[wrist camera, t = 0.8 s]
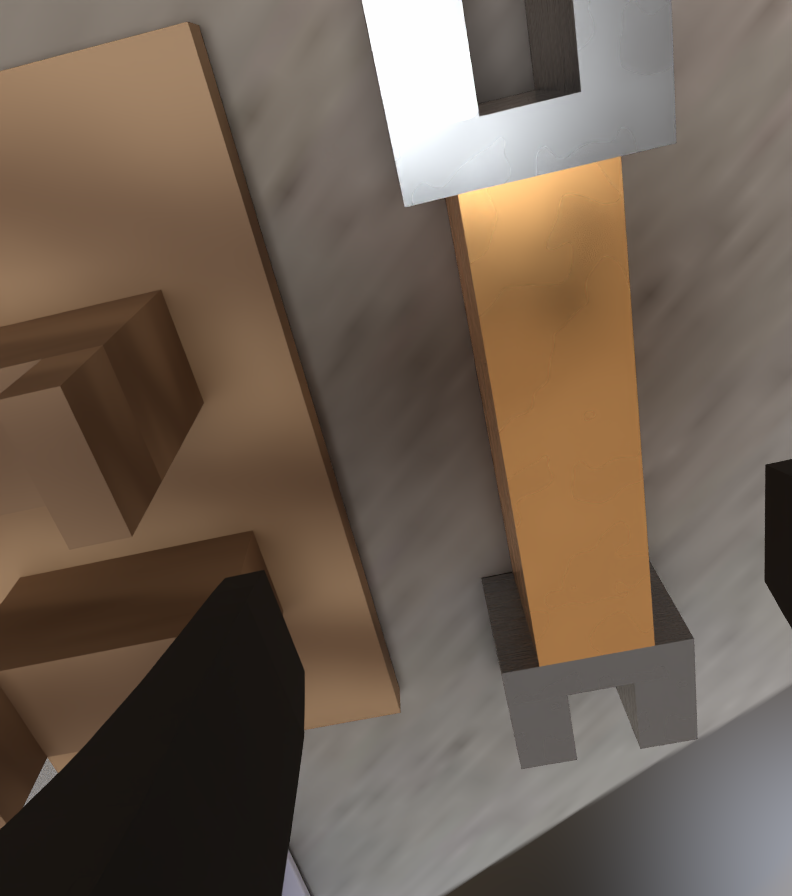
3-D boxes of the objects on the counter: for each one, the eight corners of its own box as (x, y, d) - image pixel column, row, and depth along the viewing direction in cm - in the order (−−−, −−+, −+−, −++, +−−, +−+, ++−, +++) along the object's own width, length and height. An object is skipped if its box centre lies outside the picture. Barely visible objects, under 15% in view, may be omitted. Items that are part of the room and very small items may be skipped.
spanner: (648, 639, 23) (697, 738, 20) (499, 666, 24) (521, 769, 20) (595, -68, 15) (666, -116, 11) (360, -6, 15) (355, -34, 11)
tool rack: (399, 689, 24) (407, 899, 18) (69, 749, 25) (-31, 968, 19) (198, 25, 15) (73, -16, 9) (-306, 158, 16) (-737, 204, 10)
